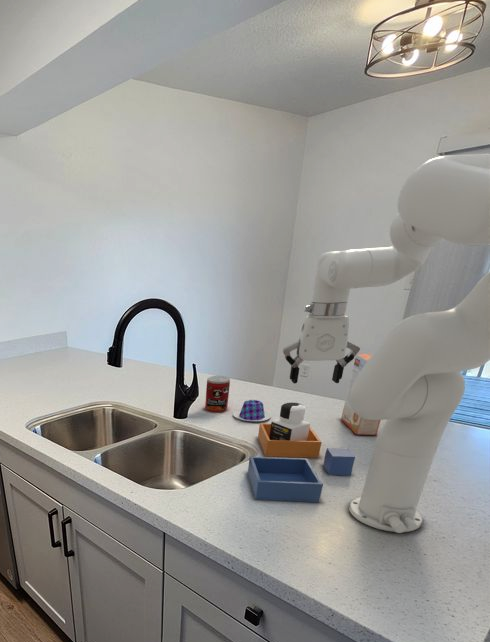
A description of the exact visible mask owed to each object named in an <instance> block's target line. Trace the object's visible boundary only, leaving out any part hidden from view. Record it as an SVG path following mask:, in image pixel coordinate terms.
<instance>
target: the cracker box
mask: <svg viewBox="0 0 490 642" xmlns="http://www.w3.org/2000/svg"><path fill="white" fill-rule="evenodd" d="M372 354H373V353H357V354H356V356H355V357H354V363H353V366H352V372H351V375H350V380H349V384H348V388H347V391H346V392H347V393H346V397H345V401H344V405H343V409H342V412H341V413H342V414H341V418H340V420H341V421H342V422H343V423H344V424H345V425H346V426H348V428H349V429H350V430H351V431H352V432H353V433H354V434H355V435H357V436H358V435H360V436H377V434H378V432H379V427H380V423H381V420H369V419H365V418H362V417H360V416H358V415H357V414H356V413H355V412H354V411H353V409H352V407H351V404H350V393H351V389H352V386H353V383H354V381H355V379H356V377H357V376H358V374H359V373H360V371H361V370H362V368H363V367H364V365H365V364H366V363H367V361H368V360H369V358H370V357H371V355H372Z"/></svg>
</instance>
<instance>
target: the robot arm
mask: <svg viewBox="0 0 490 642" xmlns="http://www.w3.org/2000/svg"><path fill="white" fill-rule="evenodd" d="M397 211H398V212H397V213H396V215H395V216H394V217H393V219H392V221H391V223H390V226H389V239H390V242H391V244H392V245H391V246H386V247H385V246H384V247H369V248H368V247H367V248H355V249H345V250H335V251H334V250H333V251H327V252H323V253H321V254H320V255H319V257H318V259H317V264H316V271H315V276H314V282H313V289H312V296H311V300H310V301H311V302H309V304H308V305H304V306H303V312H304V313H308V315H306V316H305V318H304V321H303V324H302V326H301V330H300V334H299V337H298V340H297V341H295V342H293V343H291V344H289V345H287V346H285V347H283V348H282V349H281V353H282V354H283V356H284V360H286V362H287V363H288V364H289V365H290V371H289V380H291V382H292V384H297V383H298V381H299V374H300V367H299V366H300V365H301V363H303V362H304V361H317V362H321V361H335V362H336V364H335V365H334V366H333V372H332V377H331V381H333V382H334V383H335V384H339V383H340V380H341V379H342V378H343V374H344V370H345V367H347V366H348V364H349V363H351V362H352V361H353V360H355V358H356V355H357V354H359V352H360V351H361V347H359V346H357V345H356V344H353V343H352V342H350V341H348V340H349V339H348V338H349V328H350V327H349V326H350V323H349V322H350V320H349V319H350V318H349V315H346V311H347V306H348V301H349V296H350V291H351V289H361V288H362V289H363V288H379V287H386V286H389V285H391V284H394V283H396V282H398V281H400V280H402V279H404V278H406V277H408V276H410V275H411V274H413V273H414V272H416V271H418V270H419V269H420V268H421V267H422V266H423V264H424V263H425V262H426V261H427V259H428V257H429V256H430V254H431V252H432V248H434V247H435V246H437V245H439V244H440V243H442V242H444V241H445V240H446V241H449V242H452V243H454V244H457V245H461V246H468V247H480V246H481V247H483V246H484V247H486V246H490V153H470V154H468V153H467V154H456V155H455V154H452V155H451V154H450V155H449V154H448V155H441V156H436V157H434V158H430V159H428V160H427V161H425V162H423V163H421V164H420V165H419V166H418V167H416V169H414V171H412V172H411V174H410V175H409V176H408V177H407V179H406V180H405V182H404V184H403V185H402V187H401V189H400V192H399V194H398V197H397ZM347 349H349V350H350V351H349V353H348V354H346V353H347ZM294 350H296V355H295V357H294V358H293V357H292V355H291V352H293V351H294ZM371 354H372V355H371V357H370V358H369V360H368V361H367V363H366V364H365V365H364V367H363V368H362V370H361V371H360V373H359V374H358V376H357V377H356V379H355V381H354V383H353V386H352V389H351V393H350V404H351V407H352V409H353V411H354V412H355V413H356V414H357V415H358V416H360V417H362V418H365V419H369V420H380V421H384V420H385V421H384V423H383V424H382V426H381V428H380V430H379V431H378V433H377V434H378V435H377V438H376V440H375V444H374V448H373V451H372V456H371V459H370V463H369V466H368V470H367V473H366V477H365V481H364V485H363V488H362V492H361V495H360V497H356V498H354V499H353V500H351V501H350V502H349V503H350V504H349V506H348V507H349V512H350V514H351V515H352V516H353V517H354V518H355V519H356V520H357V521H359V522H361V523H362V524H364V525H367V526H369V527H371V528H374V529H378V530H380V531H381V530H382V531H386V532H391V533H397V534H402V533H408V532H413V531H416V530H418V529H419V528H420V527H421V525H422V523H423V516H422V515H421V513H420V512H419V511H418V510H417V507H418V505H419V501H420V499H421V495H422V493H423V491H424V487H425V485H426V482H427V479H428V476H429V473H430V470H431V468H432V467H431V466H432V465H433V461H434V458H435V455H436V453H437V450H438V448H439V444H440V442H441V439H442V436H443V434H444V432H445V429H446V427H447V425H448V424H449V421H450V420H451V418H452V417H453V415H454V414H455V412H456V411H457V409H458V407H459V405H460V403H461V402H462V400H463V397H464V394H465V392H466V391H465V390H466V381H465V378H464V375H463V373H462V372H467V371H471V370H475V369H478V368H480V367H482V366H484V365H485V364H487V363H488V362H489V361H490V270H489V271H488V272H487V273H485V274H484V275H483V276H482V277H481V278H480V279H479V280H478V281H477V282H476V284H475V286H474V287H473V288H472V289H471V290H470V292H469V293H468V294H467V295H466V296H465V297H464V298H463V299H462V300H461V302H460V303H458V304H457V305H456V306H454V307H452V308H450V309H448V310H443V311H442V310H441V311H429V312H420V313H417V314H413V315H410V316H408V317H405V318H404V319H402V320H401V321H398V322H397V323H396V324H395V325H394V326H392V328H390V330H388V332H386V335H385V336H384V337H383V338H382V340H381V341H380V342H379V344H378V345H377V347H376V349H375V350H374V351H373V352H372V353H371Z"/></svg>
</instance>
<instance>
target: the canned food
mask: <svg viewBox="0 0 490 642" xmlns="http://www.w3.org/2000/svg"><path fill="white" fill-rule="evenodd" d="M206 379H207V380H206V387H205V389H206V390H205V401H204V402H205V403H204V408H205V410H206V411H207V412H211V413H223V412H225V411H227V409H228V403H229V396H230V388H231V387H230V385H231V378H230V377H228V376H224V375H213V376H209V377H207V378H206Z"/></svg>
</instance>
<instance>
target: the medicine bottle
mask: <svg viewBox="0 0 490 642" xmlns="http://www.w3.org/2000/svg"><path fill="white" fill-rule="evenodd" d="M305 413H306V406H305V405H304V404H302V403H299V402H286V403H283V404H282V405H281V406H280V412H279V418H276V419H273V420H271V422H270V424H271V429H270V436H269V439H270V440H291V441H307V438H308V433H309V428H310V427H311V423H310V422H308V421H307V420H304V418H305Z"/></svg>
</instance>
